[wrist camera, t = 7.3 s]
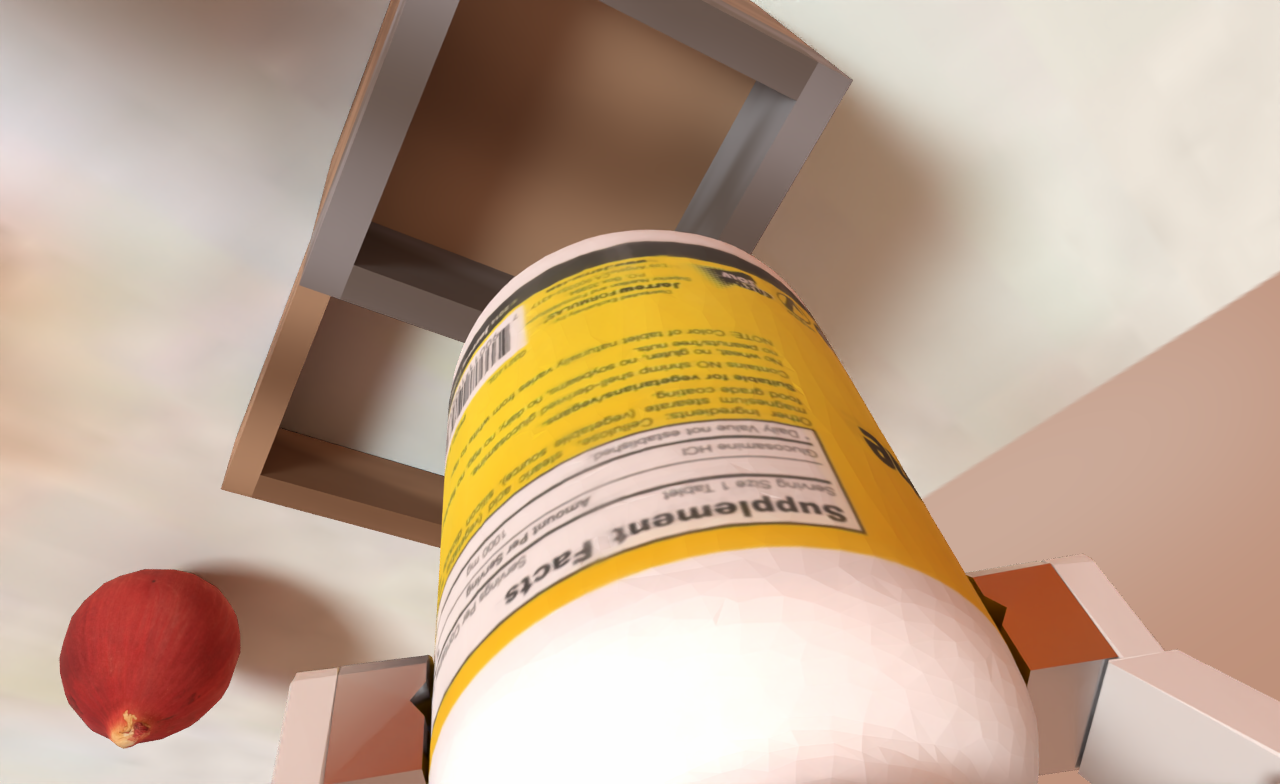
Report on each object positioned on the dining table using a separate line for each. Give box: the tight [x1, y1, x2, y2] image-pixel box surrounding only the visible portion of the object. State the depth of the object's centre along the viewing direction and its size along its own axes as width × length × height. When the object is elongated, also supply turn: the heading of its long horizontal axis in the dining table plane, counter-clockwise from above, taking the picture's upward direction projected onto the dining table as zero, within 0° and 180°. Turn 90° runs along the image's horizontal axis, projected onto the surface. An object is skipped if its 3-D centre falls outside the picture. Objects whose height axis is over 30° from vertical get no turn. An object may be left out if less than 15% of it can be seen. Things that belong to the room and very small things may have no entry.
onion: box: [60, 569, 240, 749], centre depth 36 cm, size 6×6×8 cm
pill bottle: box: [428, 230, 1039, 784], centre depth 12 cm, size 6×6×11 cm
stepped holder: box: [221, 0, 853, 548], centre depth 30 cm, size 21×10×9 cm, turn 153°
